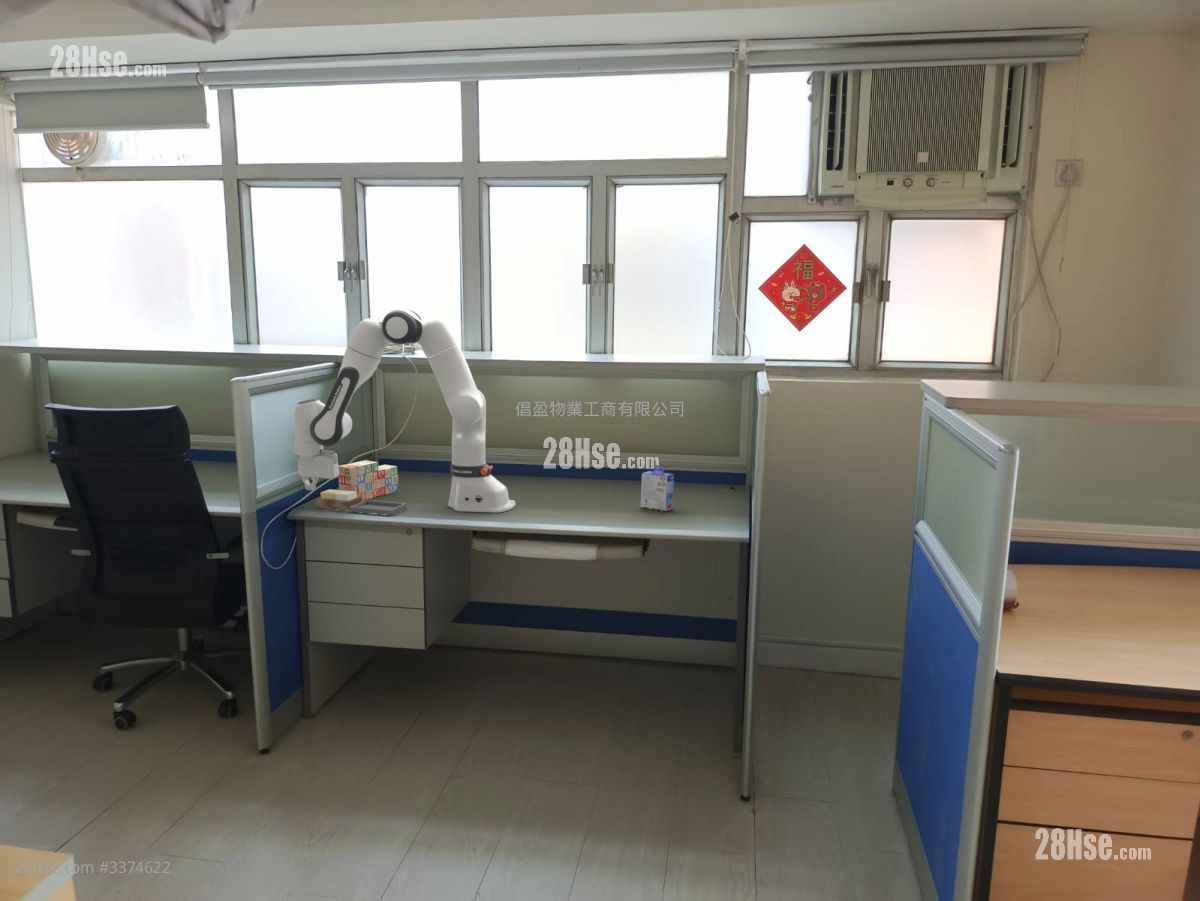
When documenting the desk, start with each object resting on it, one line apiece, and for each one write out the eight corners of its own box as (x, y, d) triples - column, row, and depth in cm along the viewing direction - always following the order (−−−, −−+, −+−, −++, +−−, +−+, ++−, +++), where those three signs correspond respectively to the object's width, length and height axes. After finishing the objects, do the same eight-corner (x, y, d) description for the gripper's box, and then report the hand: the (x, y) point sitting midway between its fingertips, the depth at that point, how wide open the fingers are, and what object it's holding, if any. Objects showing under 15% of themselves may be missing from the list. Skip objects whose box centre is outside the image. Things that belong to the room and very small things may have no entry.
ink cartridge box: (673, 509, 272) (675, 467, 269) (666, 512, 267) (667, 469, 264) (647, 505, 277) (648, 463, 274) (640, 508, 272) (641, 466, 270)
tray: (406, 508, 266) (406, 503, 266) (391, 516, 256) (391, 510, 256) (366, 505, 270) (366, 499, 269) (349, 512, 260) (349, 506, 260)
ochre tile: (342, 496, 269) (342, 490, 268) (334, 499, 264) (333, 493, 264) (329, 495, 270) (329, 489, 270) (320, 498, 265) (320, 492, 265)
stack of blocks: (386, 489, 293) (385, 456, 291) (398, 491, 290) (397, 458, 288) (339, 500, 275) (337, 465, 273) (351, 503, 272) (350, 467, 270)
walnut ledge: (362, 505, 269) (361, 496, 269) (348, 511, 262) (348, 502, 261) (330, 502, 272) (329, 493, 272) (316, 508, 265) (315, 499, 264)
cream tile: (356, 497, 267) (356, 491, 267) (348, 500, 263) (348, 494, 262) (343, 496, 269) (343, 490, 268) (334, 499, 264) (334, 493, 264)
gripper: (342, 449, 266) (343, 490, 269) (288, 445, 272) (290, 485, 274) (331, 452, 260) (332, 494, 263) (276, 448, 266) (278, 489, 268)
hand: (310, 489), depth 269 cm, fingers closed
